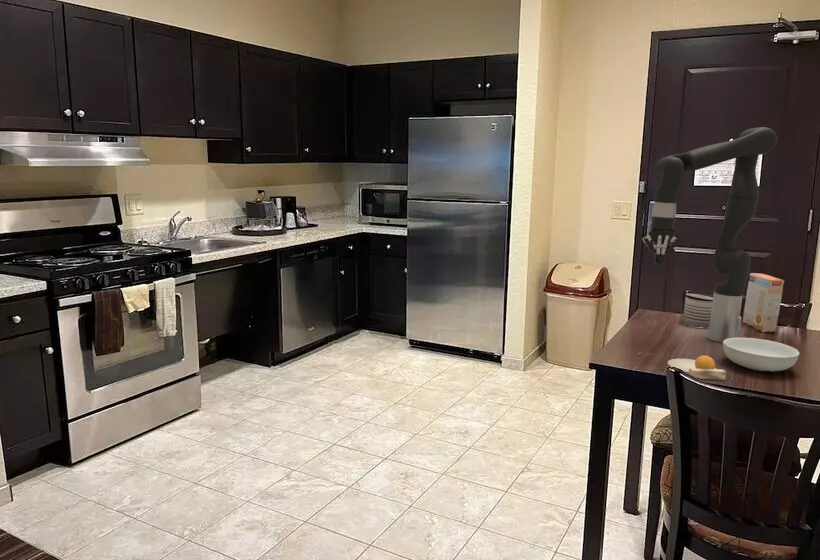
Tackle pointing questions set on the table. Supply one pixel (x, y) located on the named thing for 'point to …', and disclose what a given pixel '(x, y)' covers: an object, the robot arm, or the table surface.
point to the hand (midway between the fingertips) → (657, 264)
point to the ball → (704, 363)
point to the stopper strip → (708, 373)
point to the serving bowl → (760, 354)
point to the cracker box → (763, 301)
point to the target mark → (682, 364)
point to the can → (697, 310)
